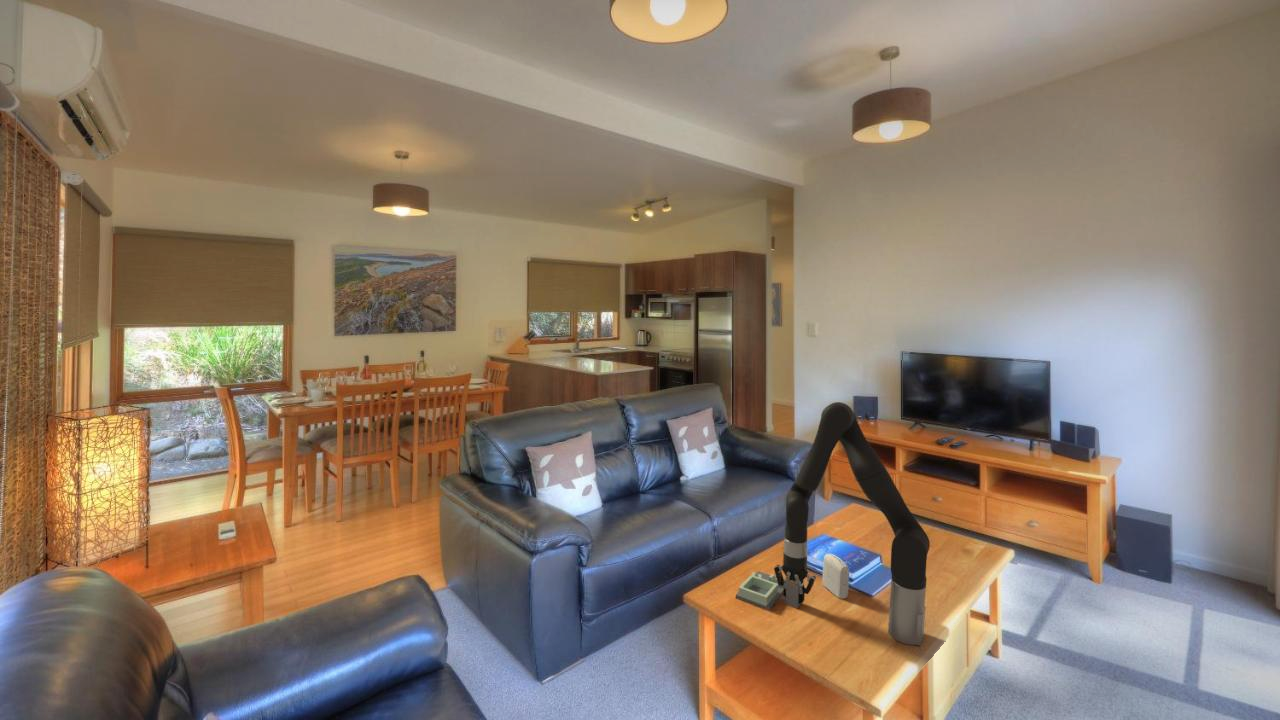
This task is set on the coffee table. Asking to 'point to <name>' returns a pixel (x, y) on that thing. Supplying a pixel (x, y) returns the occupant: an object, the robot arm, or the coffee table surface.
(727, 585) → the coffee table surface
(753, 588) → the board
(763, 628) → the coffee table surface
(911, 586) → the robot arm
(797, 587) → the block
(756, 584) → the end holder
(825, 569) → the photo printer
